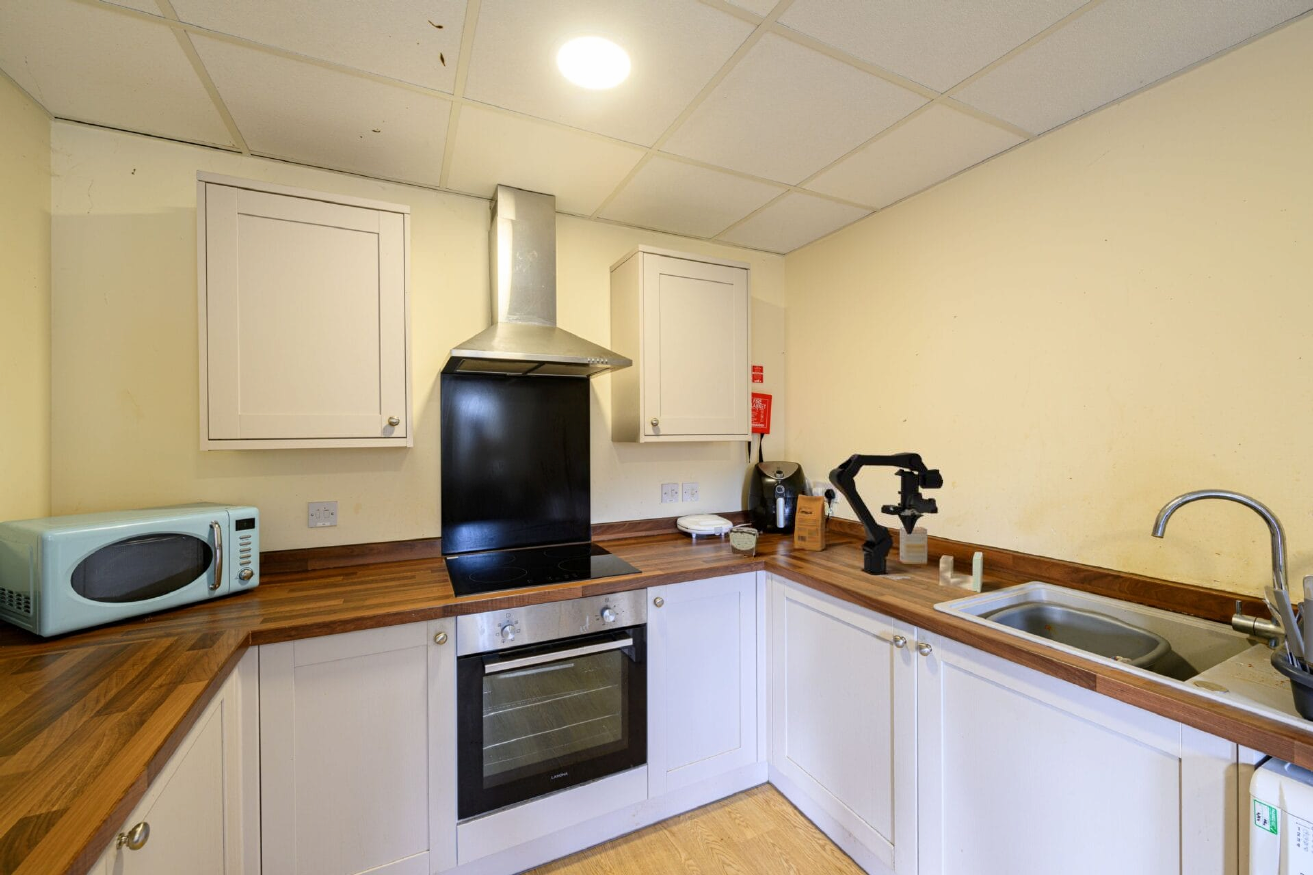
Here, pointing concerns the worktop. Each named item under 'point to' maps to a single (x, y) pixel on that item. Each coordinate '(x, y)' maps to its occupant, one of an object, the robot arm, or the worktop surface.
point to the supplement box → (913, 546)
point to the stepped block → (953, 575)
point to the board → (977, 571)
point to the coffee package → (810, 523)
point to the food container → (743, 540)
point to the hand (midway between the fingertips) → (909, 534)
